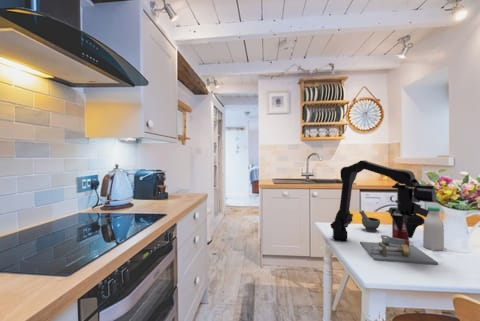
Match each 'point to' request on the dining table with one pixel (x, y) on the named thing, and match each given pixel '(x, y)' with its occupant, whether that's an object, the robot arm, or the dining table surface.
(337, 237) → the robot arm
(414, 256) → the flat gray base plate
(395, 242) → the ball-ended metal rod
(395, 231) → the soda can
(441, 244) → the milk bottle
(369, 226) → the mortar and pestle
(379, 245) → the eye staple
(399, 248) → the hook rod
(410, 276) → the dining table surface
